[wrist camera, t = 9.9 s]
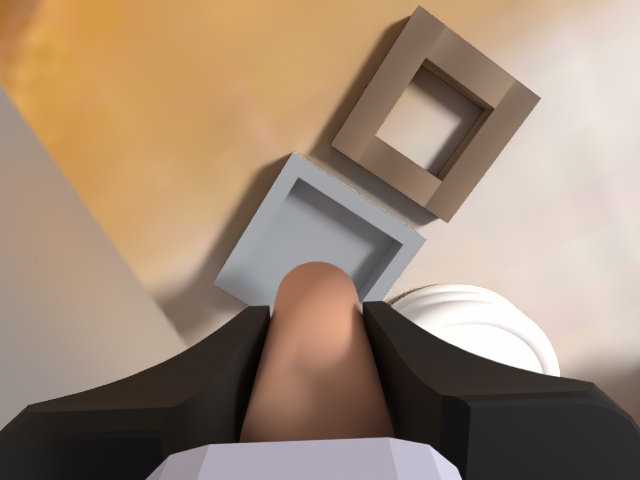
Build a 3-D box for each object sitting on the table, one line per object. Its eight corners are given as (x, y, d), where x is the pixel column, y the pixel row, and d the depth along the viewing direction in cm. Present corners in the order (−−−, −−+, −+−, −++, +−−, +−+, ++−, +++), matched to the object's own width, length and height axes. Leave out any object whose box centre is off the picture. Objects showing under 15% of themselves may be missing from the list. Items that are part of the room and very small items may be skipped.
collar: (527, 100, 18) (540, 98, 17) (440, 218, 20) (447, 223, 19) (412, 14, 17) (419, 5, 16) (329, 144, 19) (330, 145, 18)
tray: (416, 230, 20) (426, 239, 18) (337, 337, 22) (339, 357, 20) (295, 151, 19) (292, 152, 17) (222, 270, 21) (212, 284, 19)
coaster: (508, 433, 24) (539, 482, 20) (351, 423, 24) (357, 471, 20) (545, 286, 21) (588, 314, 18) (370, 273, 21) (380, 299, 18)
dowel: (356, 259, 14) (397, 378, 7) (357, 334, 14) (394, 507, 8) (273, 262, 14) (231, 384, 7) (279, 337, 14) (246, 512, 8)
